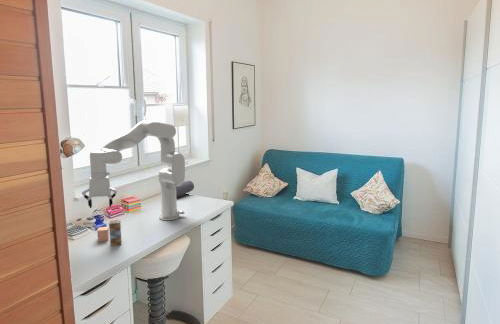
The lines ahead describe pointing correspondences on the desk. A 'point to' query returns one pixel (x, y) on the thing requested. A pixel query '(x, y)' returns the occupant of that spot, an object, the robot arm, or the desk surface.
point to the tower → (115, 232)
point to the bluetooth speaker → (184, 188)
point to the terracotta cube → (103, 233)
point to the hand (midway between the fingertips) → (100, 206)
